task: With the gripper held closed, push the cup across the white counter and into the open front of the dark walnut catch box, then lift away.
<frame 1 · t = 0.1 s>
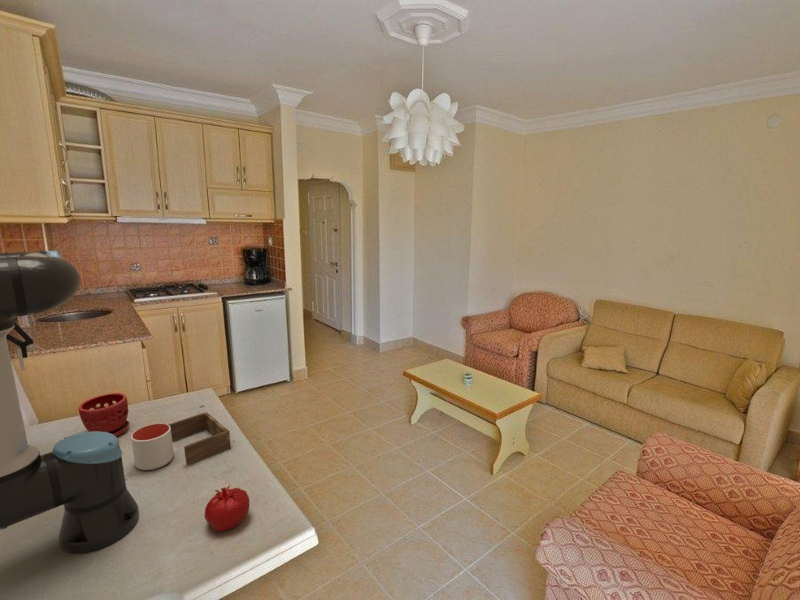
plant pot: (108, 434, 138), on the table
pomegranate: (228, 521, 99), on the table
cup: (155, 462, 122), on the table
catch box: (200, 444, 131), on the table
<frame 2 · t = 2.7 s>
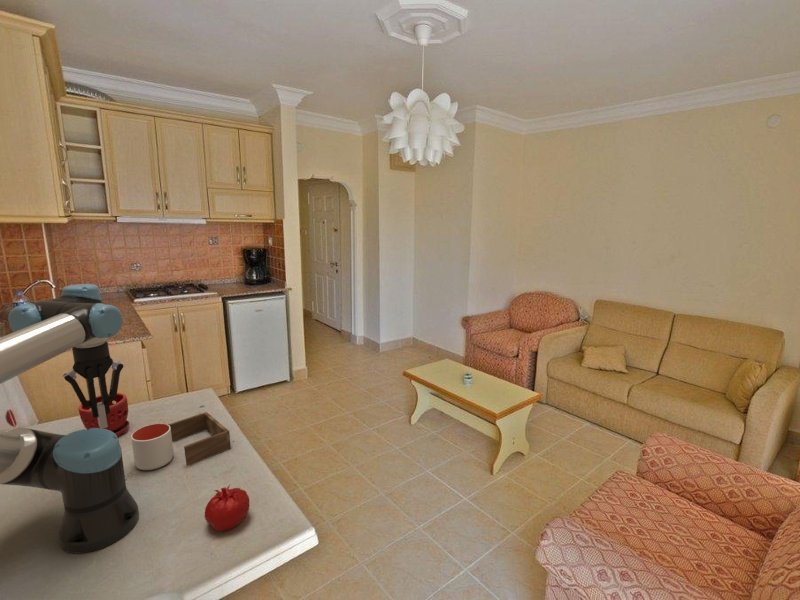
hand: (103, 426, 111), 16 cm above the table, fingers closed
nothing on the table moved.
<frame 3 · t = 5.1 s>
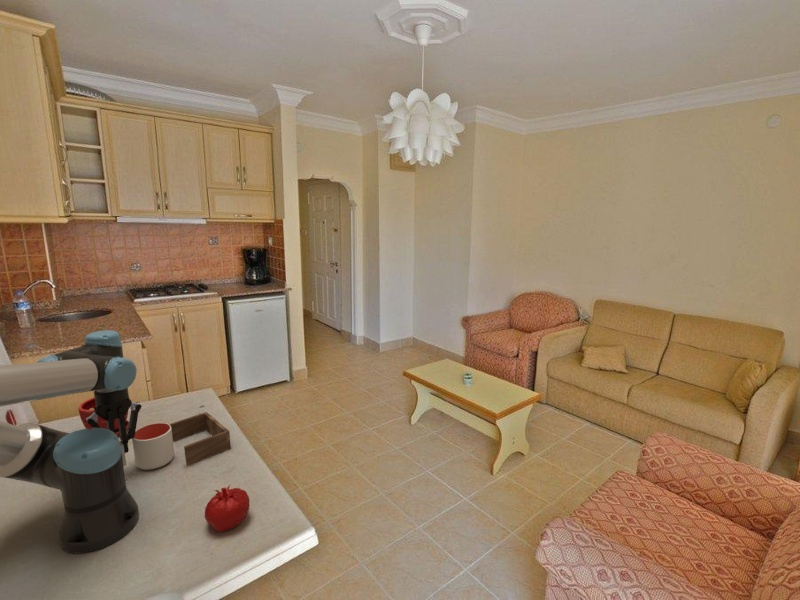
hand: (122, 464, 116), 3 cm above the table, fingers closed
cup: (155, 462, 122), on the table, touching gripper
everything else where it was.
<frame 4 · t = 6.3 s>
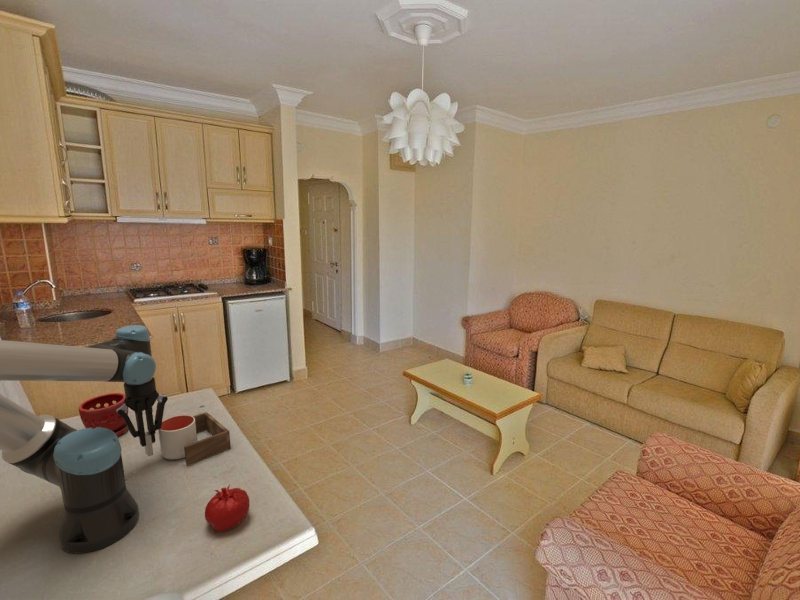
hand: (149, 453, 121), 3 cm above the table, fingers closed
cup: (180, 452, 127), on the table, touching gripper
everything else where it was.
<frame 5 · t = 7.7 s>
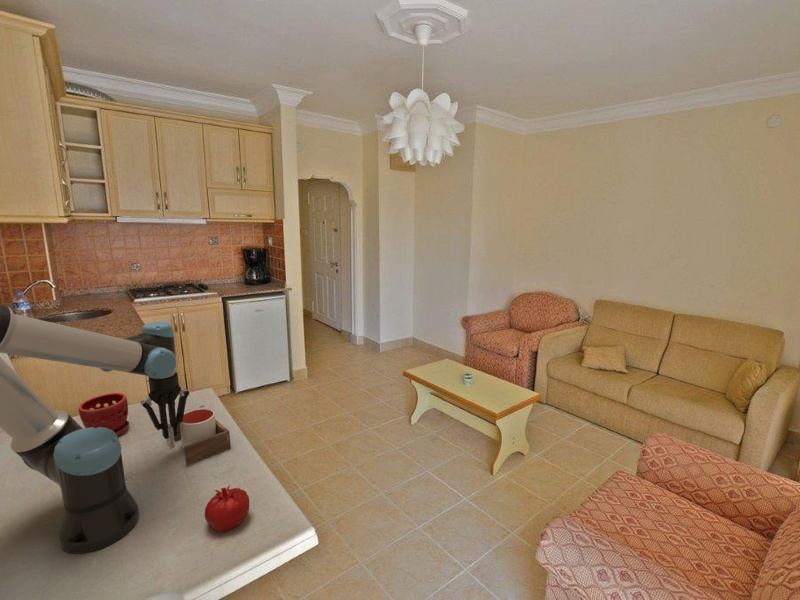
hand: (171, 446, 125), 3 cm above the table, fingers closed
cup: (200, 445, 131), on the table, touching catch box, gripper
everything else where it was.
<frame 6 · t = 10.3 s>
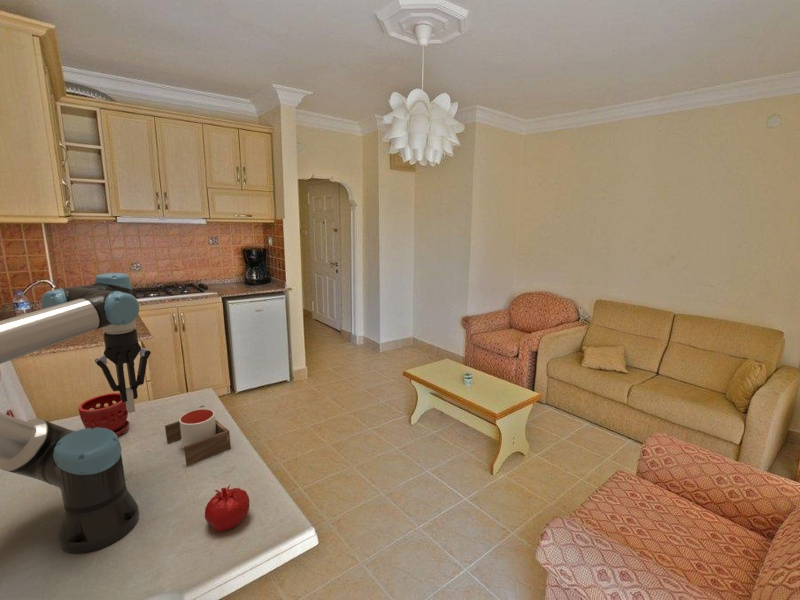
hand: (131, 410, 115), 18 cm above the table, fingers closed
cup: (200, 445, 131), on the table
everything else where it was.
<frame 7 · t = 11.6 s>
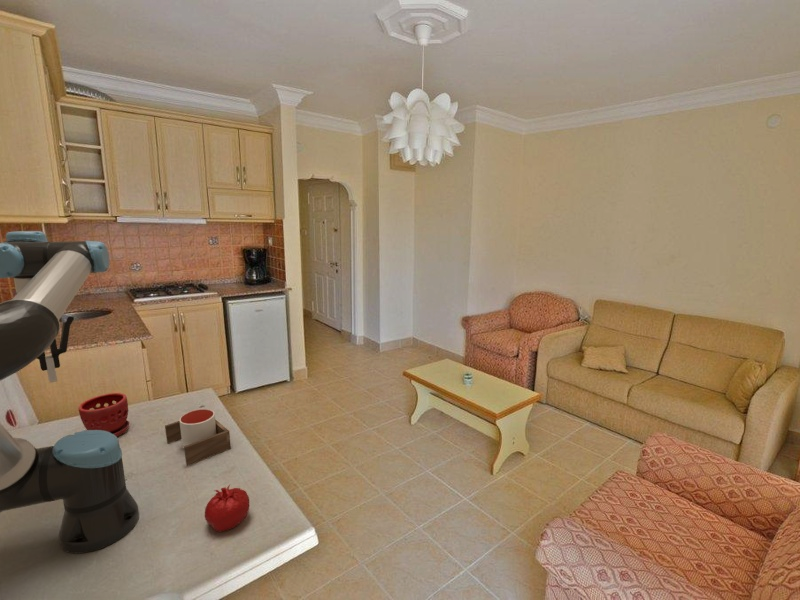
hand: (52, 380, 108), 29 cm above the table, fingers closed
nothing on the table moved.
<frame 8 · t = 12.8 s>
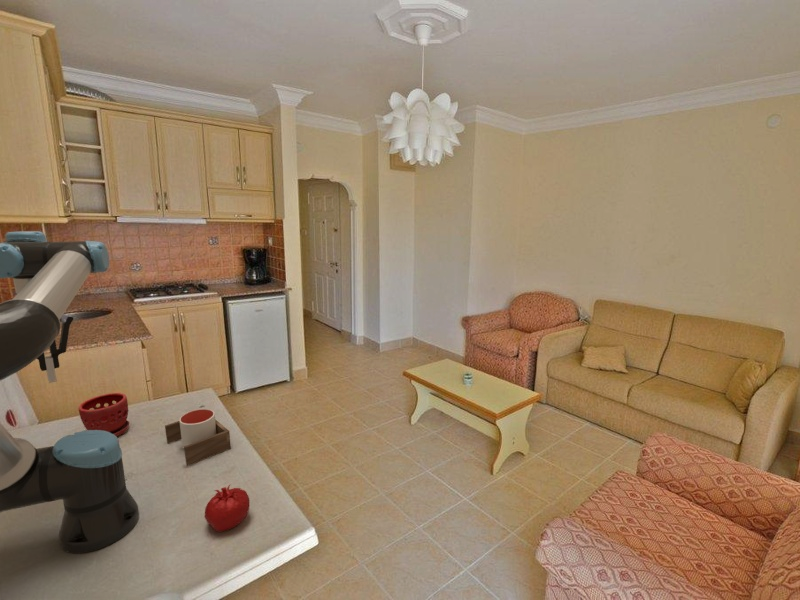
hand: (52, 380, 108), 29 cm above the table, fingers closed
nothing on the table moved.
at the end: cup inside the target area (0.5 cm from its centre), on the table; cup tilted 0°; cup moved 13.0 cm from its start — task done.
